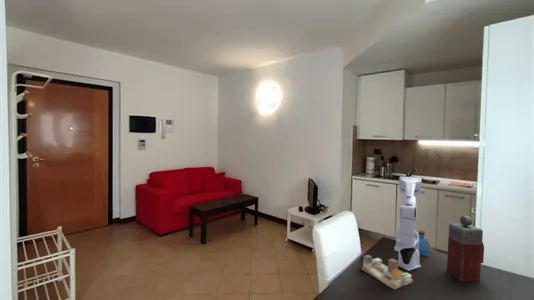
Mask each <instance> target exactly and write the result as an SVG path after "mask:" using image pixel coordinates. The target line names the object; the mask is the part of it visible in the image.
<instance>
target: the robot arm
mask: <svg viewBox="0 0 534 300" xmlns="http://www.w3.org/2000/svg"><path fill="white" fill-rule="evenodd" d="M398 189H399V193H400V194H401V195H402V197H401V204H400V206H399V212H398V214H399V229H397V230H396V237H395V245H394V250H393V251H396V252H398V261H399V267H400V268H402V269H404V270H406V271H410V272H411V271H412V270H415V269H419V268H421V267H422V265H421V264H420V258H421V257H420V256H421V255H420V253H419V250H418V249H419V234H418V231H416V220H417V218H418V207H417V198H416V197H417V196H419V195H420V194H421V192H422V191H421V190H422V178H421V177H415V176H414V177H413V176H412V177H411V176H399V180H398Z"/></svg>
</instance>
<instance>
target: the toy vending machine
mask: <svg viewBox="0 0 534 300" xmlns="http://www.w3.org/2000/svg"><path fill="white" fill-rule="evenodd" d="M459 221H460V222H459V223H456V222H455V223H449V224H448V242H447V259H446V272H447V273H448V274H450V275H451V276H452V277H454V278H456V279H457V280H458V281H460V282H480V281H481V273H482V271H481V269H482V264H484V257H485V246H484V242H483V239H484V237H483V236H484V235H483V234H484V231H483V229H481V228H480V227H476V226H474V225H472V221H473V220H472V218H471V217H470V216H468V215H462V216H460V219H459Z"/></svg>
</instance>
